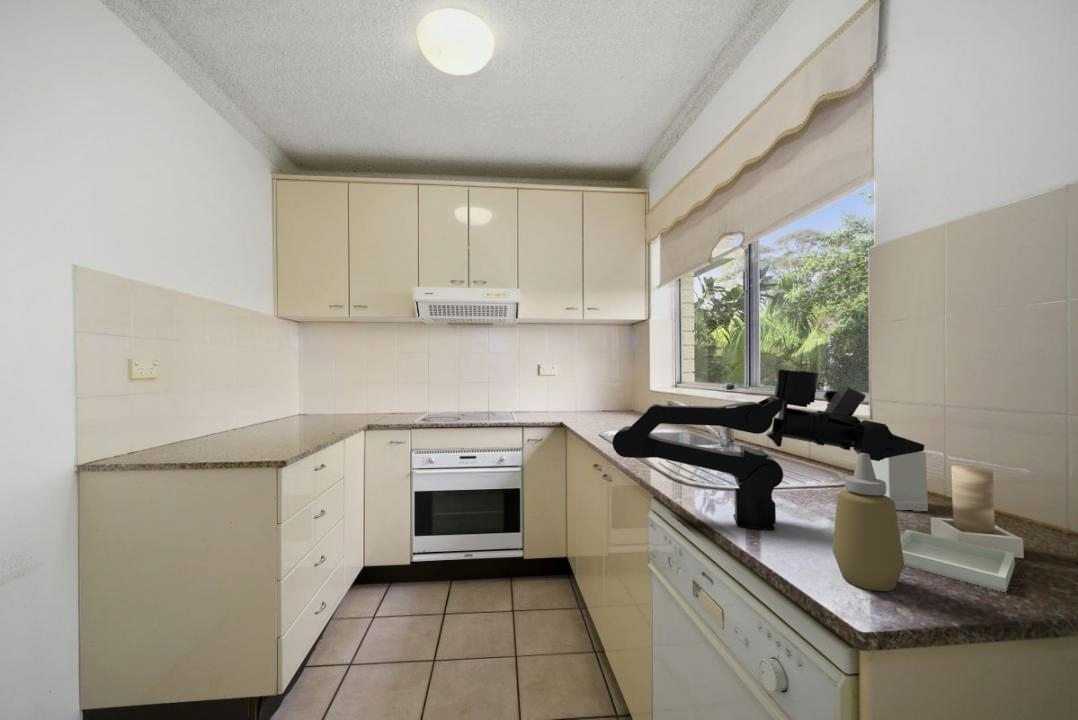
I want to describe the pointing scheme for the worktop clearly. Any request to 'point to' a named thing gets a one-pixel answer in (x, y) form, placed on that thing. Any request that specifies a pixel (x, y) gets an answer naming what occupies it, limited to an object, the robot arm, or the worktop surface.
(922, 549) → the sage tray
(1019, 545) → the socket block
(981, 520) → the maple dowel
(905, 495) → the supplement box
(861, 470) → the squeeze bottle
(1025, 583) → the worktop surface
